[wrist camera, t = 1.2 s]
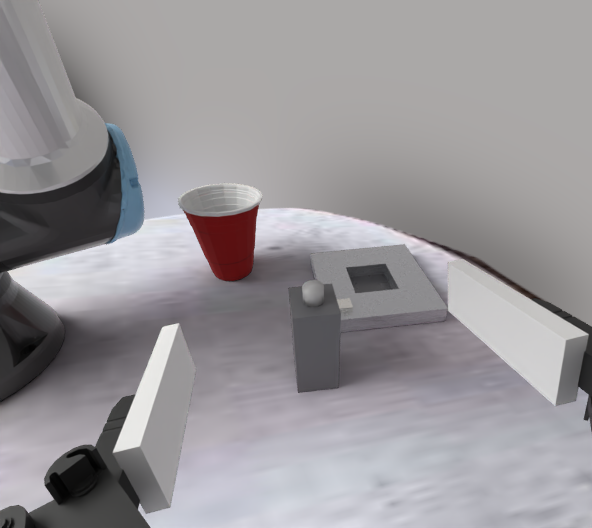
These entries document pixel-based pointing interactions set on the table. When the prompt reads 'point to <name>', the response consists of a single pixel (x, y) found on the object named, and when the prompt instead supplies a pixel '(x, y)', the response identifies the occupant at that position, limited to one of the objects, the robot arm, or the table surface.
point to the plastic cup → (224, 226)
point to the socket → (379, 287)
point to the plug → (315, 335)
